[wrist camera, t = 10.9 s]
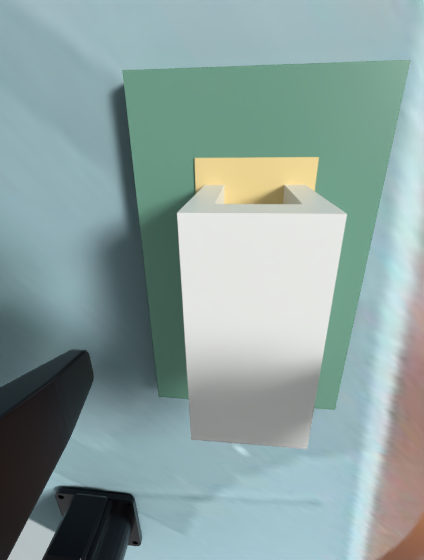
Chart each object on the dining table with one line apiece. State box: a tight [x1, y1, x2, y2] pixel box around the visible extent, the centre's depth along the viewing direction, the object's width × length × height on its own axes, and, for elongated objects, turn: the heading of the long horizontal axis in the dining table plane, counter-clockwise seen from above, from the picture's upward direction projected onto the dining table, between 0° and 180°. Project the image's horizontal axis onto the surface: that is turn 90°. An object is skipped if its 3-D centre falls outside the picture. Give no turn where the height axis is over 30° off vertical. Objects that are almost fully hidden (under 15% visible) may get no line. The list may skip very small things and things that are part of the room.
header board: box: [122, 60, 410, 410], centre depth 13 cm, size 16×10×3 cm, turn 0°
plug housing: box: [177, 185, 347, 449], centre depth 11 cm, size 8×4×6 cm, turn 1°
